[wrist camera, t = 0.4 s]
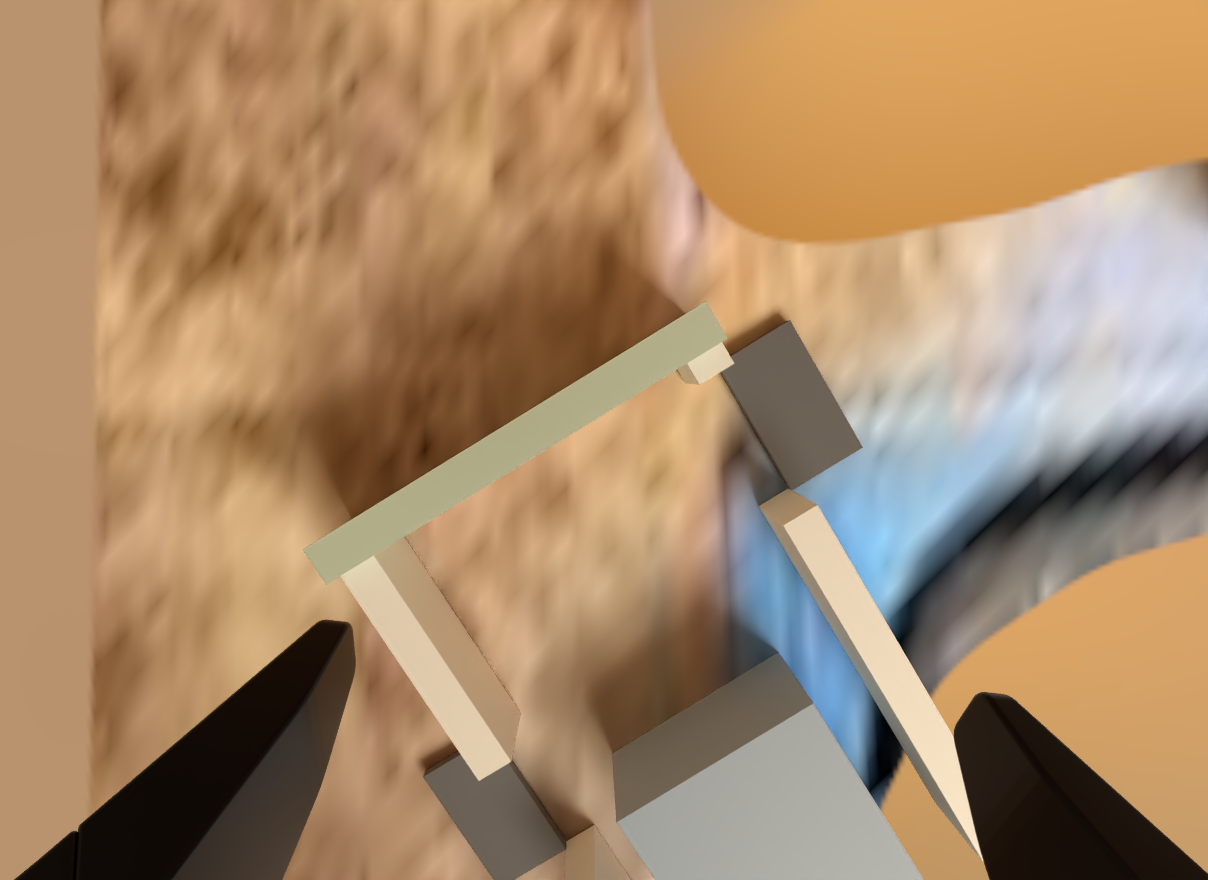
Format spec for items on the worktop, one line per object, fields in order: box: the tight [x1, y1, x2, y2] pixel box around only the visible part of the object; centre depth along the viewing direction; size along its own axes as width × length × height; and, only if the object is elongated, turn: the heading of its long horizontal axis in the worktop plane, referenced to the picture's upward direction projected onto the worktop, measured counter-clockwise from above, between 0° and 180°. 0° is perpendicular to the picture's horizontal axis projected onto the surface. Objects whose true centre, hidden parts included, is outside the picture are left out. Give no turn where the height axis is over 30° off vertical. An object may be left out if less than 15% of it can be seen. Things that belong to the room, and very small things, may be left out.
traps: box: [423, 320, 863, 880], centre depth 24 cm, size 6×22×1 cm, turn 145°
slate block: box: [612, 652, 923, 880], centre depth 23 cm, size 7×7×4 cm
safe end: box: [303, 302, 728, 584], centre depth 21 cm, size 1×13×4 cm, turn 121°
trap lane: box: [341, 342, 984, 880], centre depth 22 cm, size 20×13×3 cm
